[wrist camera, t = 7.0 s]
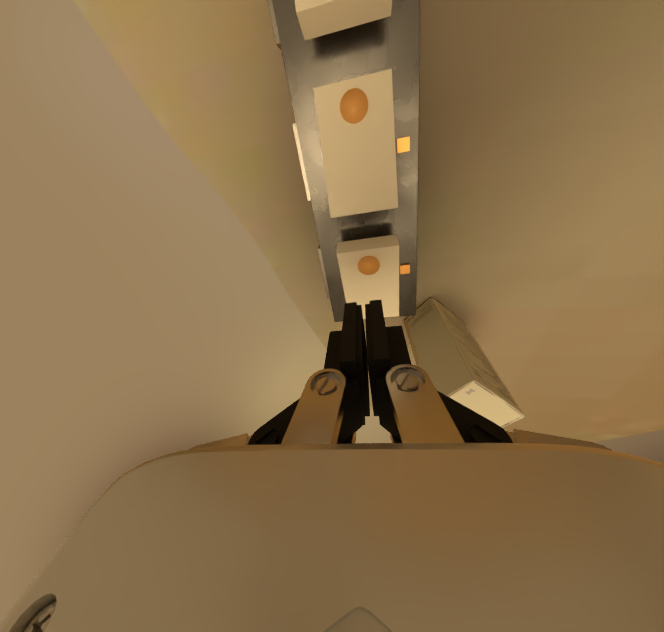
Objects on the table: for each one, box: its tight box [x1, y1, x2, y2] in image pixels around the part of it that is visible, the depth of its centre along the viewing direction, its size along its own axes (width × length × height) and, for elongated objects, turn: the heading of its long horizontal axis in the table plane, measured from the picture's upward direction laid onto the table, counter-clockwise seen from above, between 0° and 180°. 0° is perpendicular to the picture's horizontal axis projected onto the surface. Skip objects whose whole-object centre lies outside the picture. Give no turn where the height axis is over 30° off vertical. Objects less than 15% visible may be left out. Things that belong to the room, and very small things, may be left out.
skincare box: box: [404, 298, 524, 428], centre depth 24 cm, size 6×4×12 cm
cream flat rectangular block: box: [313, 69, 398, 218], centre depth 16 cm, size 7×4×2 cm, turn 10°
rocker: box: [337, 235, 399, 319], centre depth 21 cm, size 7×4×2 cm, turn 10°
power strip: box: [267, 0, 420, 322], centre depth 19 cm, size 28×8×4 cm, turn 10°
